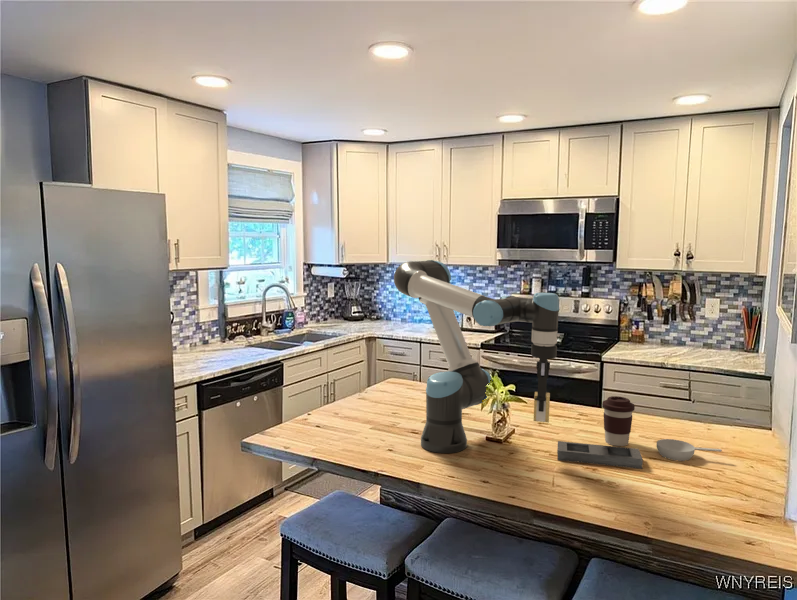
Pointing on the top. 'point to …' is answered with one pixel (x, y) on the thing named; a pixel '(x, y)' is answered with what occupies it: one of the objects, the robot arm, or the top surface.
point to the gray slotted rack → (599, 454)
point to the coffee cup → (617, 420)
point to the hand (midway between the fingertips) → (540, 418)
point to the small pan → (678, 449)
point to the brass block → (546, 406)
